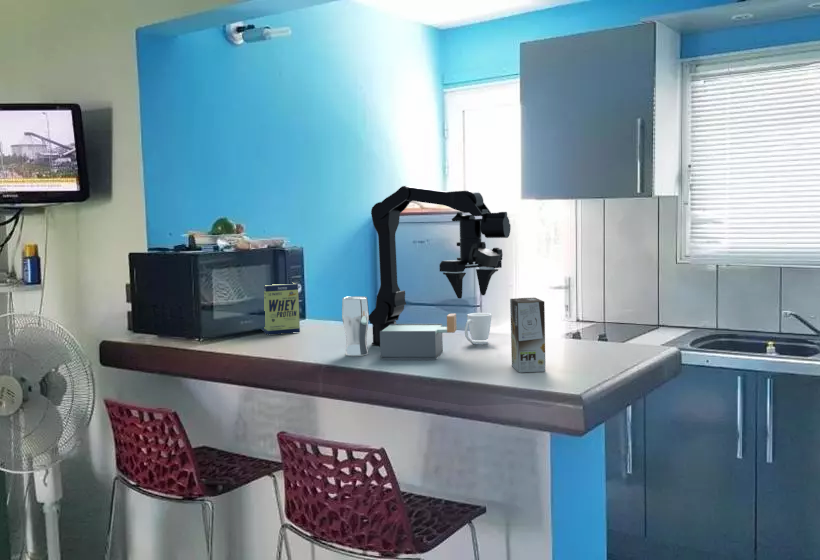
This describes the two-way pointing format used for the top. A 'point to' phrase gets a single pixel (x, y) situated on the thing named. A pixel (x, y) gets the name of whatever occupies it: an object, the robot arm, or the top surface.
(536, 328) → the coffee box
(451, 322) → the lid
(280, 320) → the protein box
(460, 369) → the top surface
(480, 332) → the cup
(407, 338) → the tub
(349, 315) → the beer glass
